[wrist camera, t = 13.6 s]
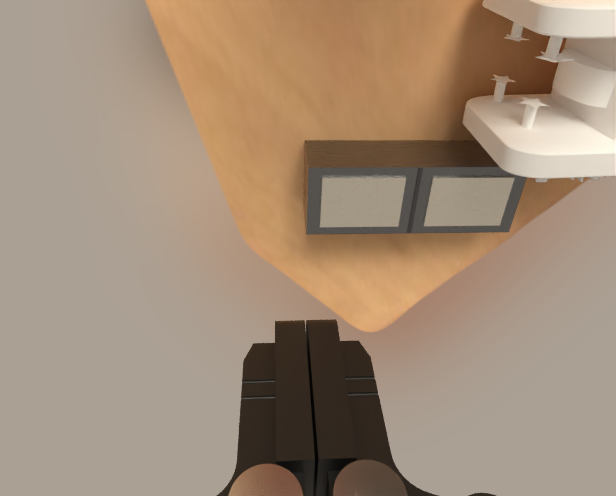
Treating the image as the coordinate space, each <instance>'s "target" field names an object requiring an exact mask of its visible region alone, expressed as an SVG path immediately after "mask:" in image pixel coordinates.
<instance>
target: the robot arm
mask: <svg viewBox="0 0 616 496" xmlns="http://www.w3.org/2000/svg"><path fill="white" fill-rule="evenodd" d="M217 496H437V495H434V494H431V493H428V492H425V491H423V490H421V489H419V488H417V487H415V486H414V485H412V484H411V483H410V482H409V481H407V480H406V479H405V478H404V477H403V476H402V474H401V473H400V472H399V470H398V469H397V467H396V466H395V463H394V461H393V459H392V455H391V451H390V446H389V442H388V437H387V432H386V428H385V423H384V418H383V414H382V409H381V405H380V399H379V396H378V390H377V385H376V381H375V378H374V371H373V367H372V362H371V357H370V356H369V355H368V353H367V352H366V350H365V349H364V348H363V346H362V345H361V344H360V342H359V341H340V338H339V332H338V326H337V321H336V320H307V321H306V332H305V322H304V320H302V321H275V343H257V344H253V345H252V347H251V349H250V351H249V352H248V354H247V356H246V358H245V359H244V363H243V379H242V393H241V408H240V423H239V439H238V455H237V464H236V469H235V472H234V475H233V477H232V479H231V481H230V482H229V483H228V485H227V486H226V487H225V489H224V490H223V491H222V492H221V493H220V494H219V495H217ZM469 496H495V495H492V494H488V493H475V494H472V495H469Z"/></svg>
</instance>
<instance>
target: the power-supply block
mask: <svg viewBox="0 0 616 496" xmlns="http://www.w3.org/2000/svg"><path fill="white" fill-rule="evenodd" d="M525 181H526V177H522V176H518V175H514V174H511V173H509V172H506V171H505V170H503V169H502V168H500V167H499V165H498V164H497V163H496V162H495V161H494V160H493V158H492V157H491V156H490V155H489V154H488V153H487V151H486V150H485V149H484V148H483V147H482V146H481V144H480V143H479V142H478V141H305V161H304V213H305V223H306V233H307V234H382V233H470V232H509V229H510V226H511V223H512V220H513V217H514V214H515V211H516V208H517V205H518V202H519V199H520V196H521V193H522V190H523V187H524V184H525Z"/></svg>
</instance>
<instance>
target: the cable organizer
mask: <svg viewBox="0 0 616 496" xmlns="http://www.w3.org/2000/svg"><path fill="white" fill-rule="evenodd" d="M482 5H483V7H485V8H487V9H489V10H491V11H493V12H495V13H497V14H499V15H501V16H503V17H505V18H507V19H509V20H511V21H513V26H512V31H511V35H508V34H505V35H507V36H508V37H504V38H505V39H511V40H515V41H518V42H519V41H520V40H529V39H526V38H522V36H521V35H522V31H523V27H525V28H527V29H529V30H531V31H533V32H535V33H538V34H542V35H546V36H550V39H549V42H548V46H547V49H546V52H541V53H542V54H543V55H542V56H537V57H536V58H540V59H544V60H547V61H551V62H559V63H558V67H557V70H556V74H555V77H554V81H553V88H552V92H551V94H525V95H504V92H505V88H506V84H507V82H515V81H513V80H510V79H509V77H508V76H498V75H494V74H492V75H493V76H494V77H495V78H493V79H491V80H497V82H496V87H495V91H494V95H490V96H480V97H475V98H472V99H470V100H468V101H467V102H466V107H465V112H464V117H463V125H464V126H465V127H466V128H467V129H468V130H469V132H470V133H471V134H472V135H473V136H474V137H475V139H476V140H477V141H478V142H479V143H480V144H481V146H482V147H483V148H484V149H485V150H486V151H487V153H488V154H489V155H490V156H491V157H492V158H493V160H494V161H495V162H496V163H497V164H498V165H499V167H500V168H502V169H503V170H505V171H506V172H509V173H511V174H514V175H518V176H522V177H528V178H536V180H535V181H536V182H547V180H548V179H552V178H561V179H563V178H570V179H572V180H574V178H577V179H578V180H580V181H581V182H583V179H584V177H589V178H590V179H591V180H599V178H600V177H607V176H611V177H614V176H616V0H483V4H482ZM563 38H567V40H566V44H565V47H564V50H562V53H559V50H560V47H561V44H562V40H563Z"/></svg>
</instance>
